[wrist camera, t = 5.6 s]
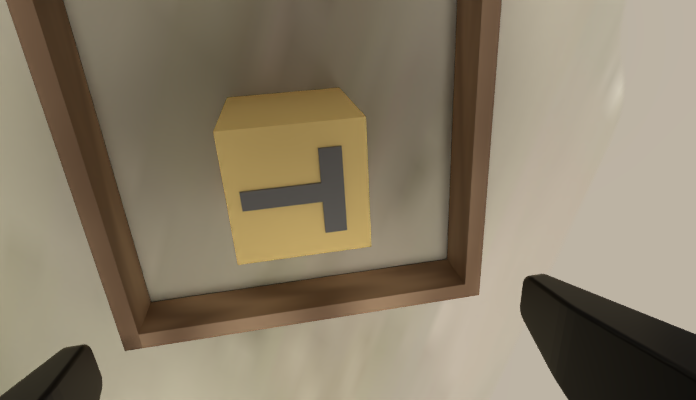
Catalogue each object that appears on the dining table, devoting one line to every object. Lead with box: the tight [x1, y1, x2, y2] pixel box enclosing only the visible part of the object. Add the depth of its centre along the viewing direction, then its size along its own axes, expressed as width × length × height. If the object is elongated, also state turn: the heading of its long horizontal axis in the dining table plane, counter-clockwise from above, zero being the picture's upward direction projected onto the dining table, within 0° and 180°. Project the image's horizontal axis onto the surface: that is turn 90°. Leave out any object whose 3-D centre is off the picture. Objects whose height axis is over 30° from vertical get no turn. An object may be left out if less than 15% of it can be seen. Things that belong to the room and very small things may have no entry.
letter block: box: [213, 88, 371, 265], centre depth 18 cm, size 5×5×6 cm
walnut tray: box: [6, 0, 502, 351], centre depth 20 cm, size 18×17×2 cm
